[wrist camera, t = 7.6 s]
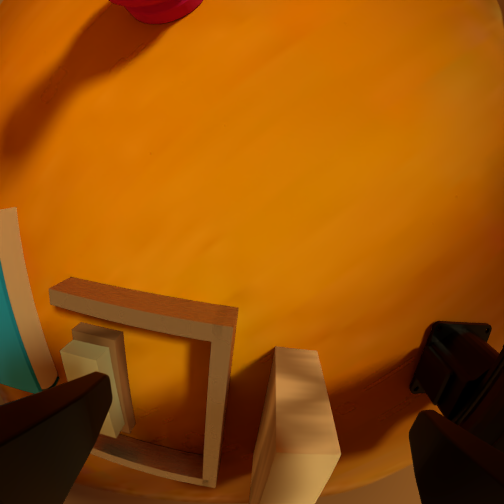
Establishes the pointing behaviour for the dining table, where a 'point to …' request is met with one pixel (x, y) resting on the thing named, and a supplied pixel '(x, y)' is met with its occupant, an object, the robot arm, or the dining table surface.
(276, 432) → the sheet
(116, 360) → the offcut low
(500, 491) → the robot arm
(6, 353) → the book
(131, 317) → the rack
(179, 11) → the pepper mill
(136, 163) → the dining table surface
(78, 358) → the offcut top
